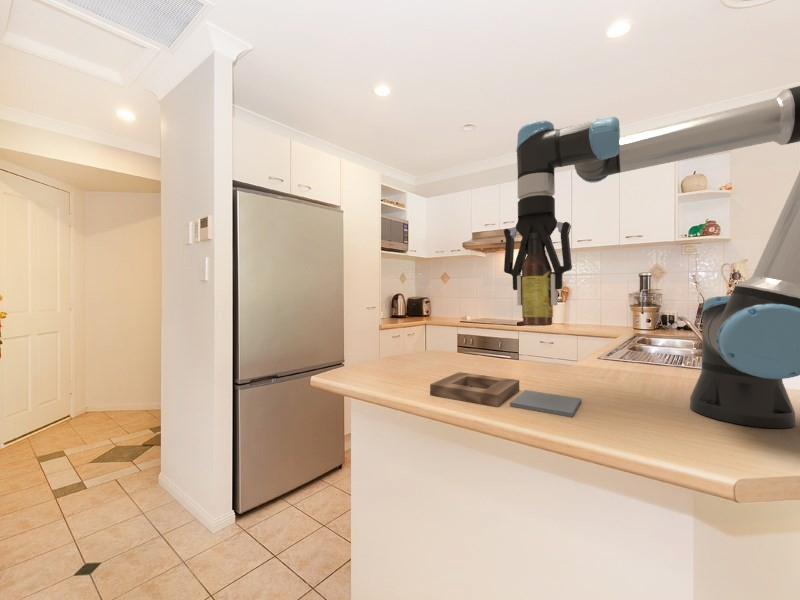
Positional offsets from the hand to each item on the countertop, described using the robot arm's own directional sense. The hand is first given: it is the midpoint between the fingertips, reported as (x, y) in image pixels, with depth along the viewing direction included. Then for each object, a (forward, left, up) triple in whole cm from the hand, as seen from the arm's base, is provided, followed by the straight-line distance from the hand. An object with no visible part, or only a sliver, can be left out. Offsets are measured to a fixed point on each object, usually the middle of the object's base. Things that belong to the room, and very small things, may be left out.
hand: (537, 305), depth 80 cm
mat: (-2, 0, -21) cm, 21 cm away
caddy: (+14, 0, -21) cm, 25 cm away
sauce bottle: (0, 0, -5) cm, 5 cm away
